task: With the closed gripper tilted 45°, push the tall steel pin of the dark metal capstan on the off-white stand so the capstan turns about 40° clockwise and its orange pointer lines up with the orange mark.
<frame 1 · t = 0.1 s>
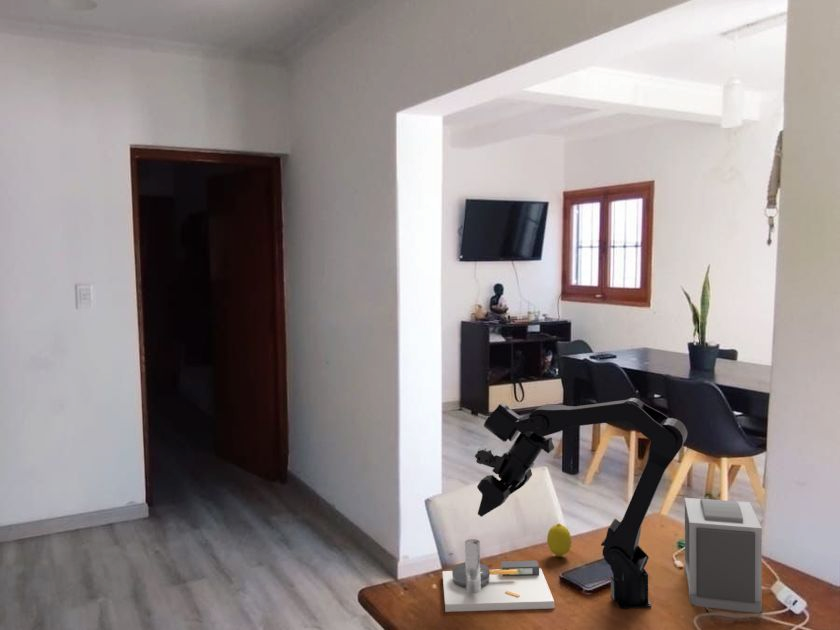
hand: (487, 508, 152), 15 cm above the table, tool tilted 35°, fingers open, 9 cm apart
stand: (495, 591, 145), on the table
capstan: (485, 558, 144), point 7 cm above the table, hinge at 0.0°
lemon: (559, 557, 161), on the table
alarm clock: (720, 589, 143), on the table
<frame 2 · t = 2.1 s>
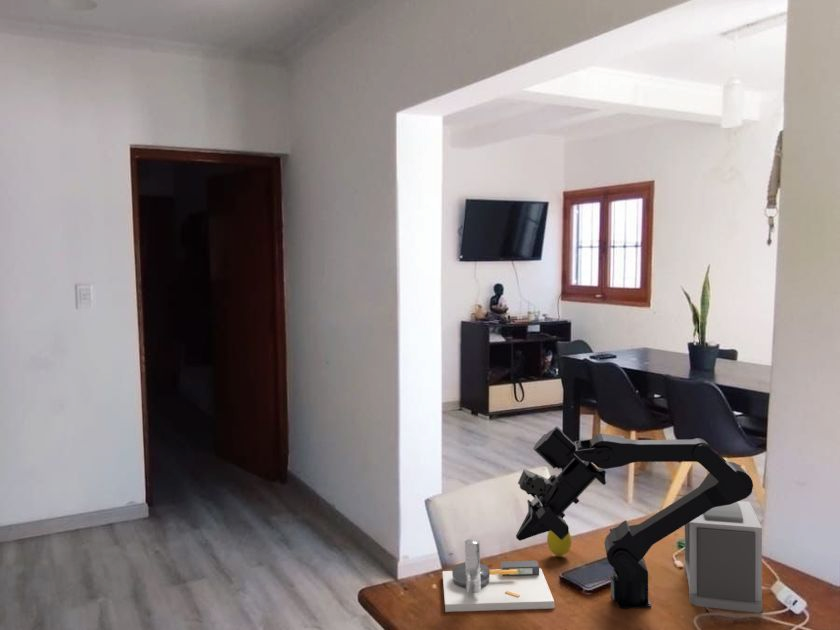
hand: (517, 538, 139), 13 cm above the table, tool tilted 45°, fingers closed
alarm clock: (720, 588, 143), on the table, touching arm
everything else where it was.
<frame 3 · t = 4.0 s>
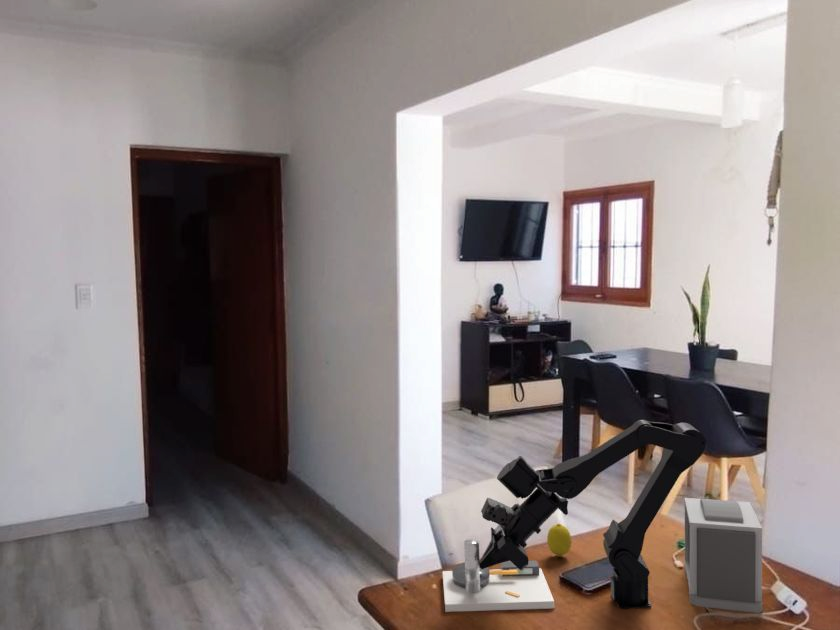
hand: (479, 566, 140), 7 cm above the table, tool tilted 45°, fingers closed
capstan: (485, 558, 144), point 7 cm above the table, hinge at -1.2°, touching gripper
alarm clock: (720, 589, 143), on the table
everything else where it was.
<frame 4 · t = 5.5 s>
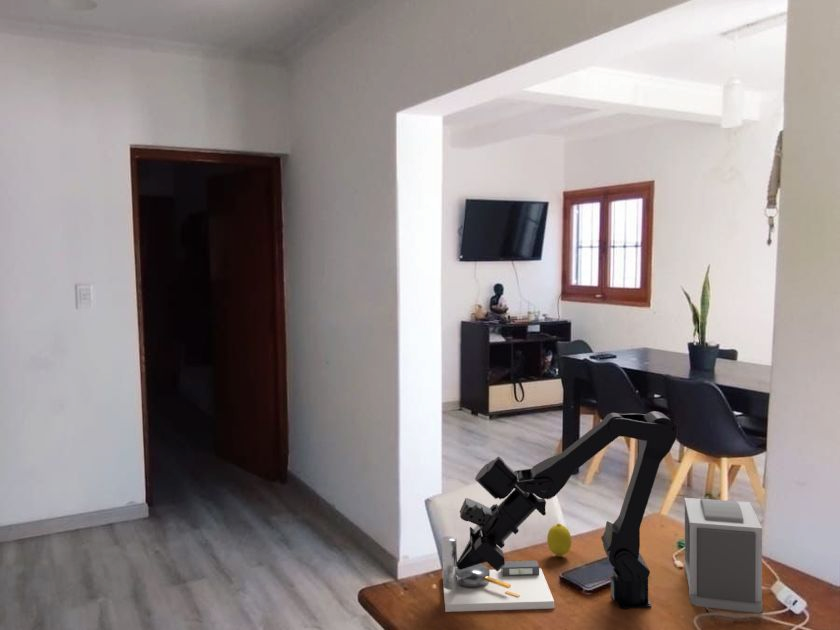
hand: (458, 566, 140), 7 cm above the table, tool tilted 45°, fingers closed
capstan: (475, 561, 142), point 7 cm above the table, hinge at -41.9°, touching gripper
everything else where it was.
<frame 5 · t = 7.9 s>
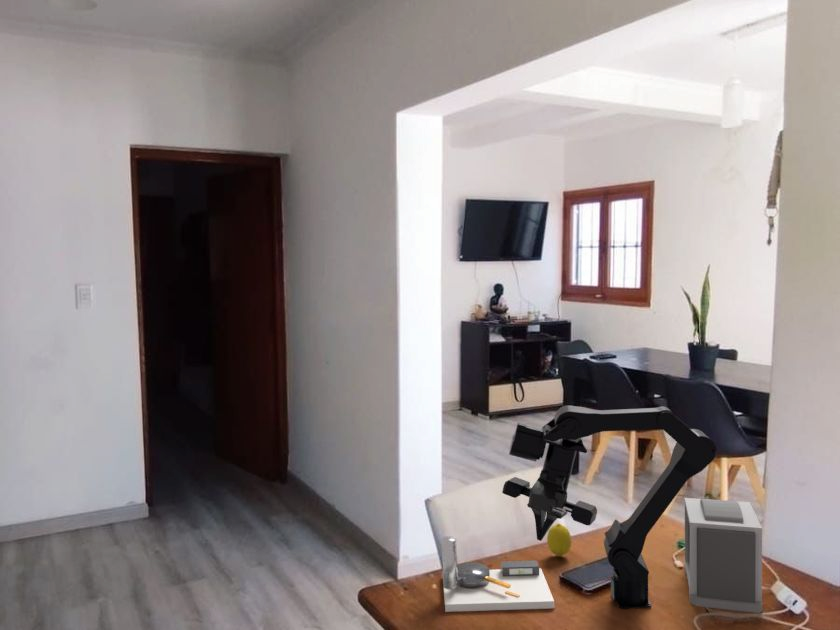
hand: (539, 539, 140), 13 cm above the table, tool pointing down, fingers closed
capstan: (475, 561, 142), point 7 cm above the table, hinge at -41.9°
everything else where it was.
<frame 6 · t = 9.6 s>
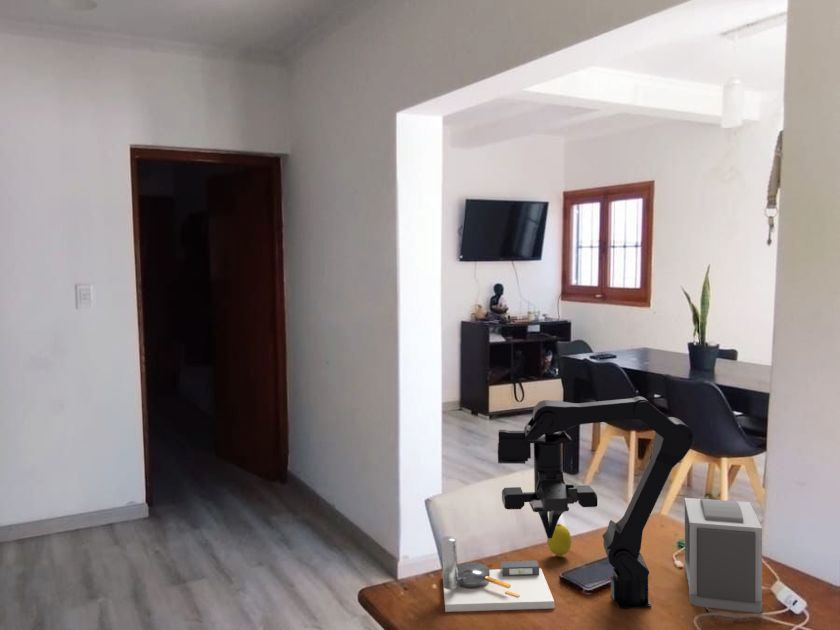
hand: (549, 537, 140), 13 cm above the table, tool pointing down, fingers closed
nothing on the table moved.
at the end: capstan at -42° (first picture: +0°) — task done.
